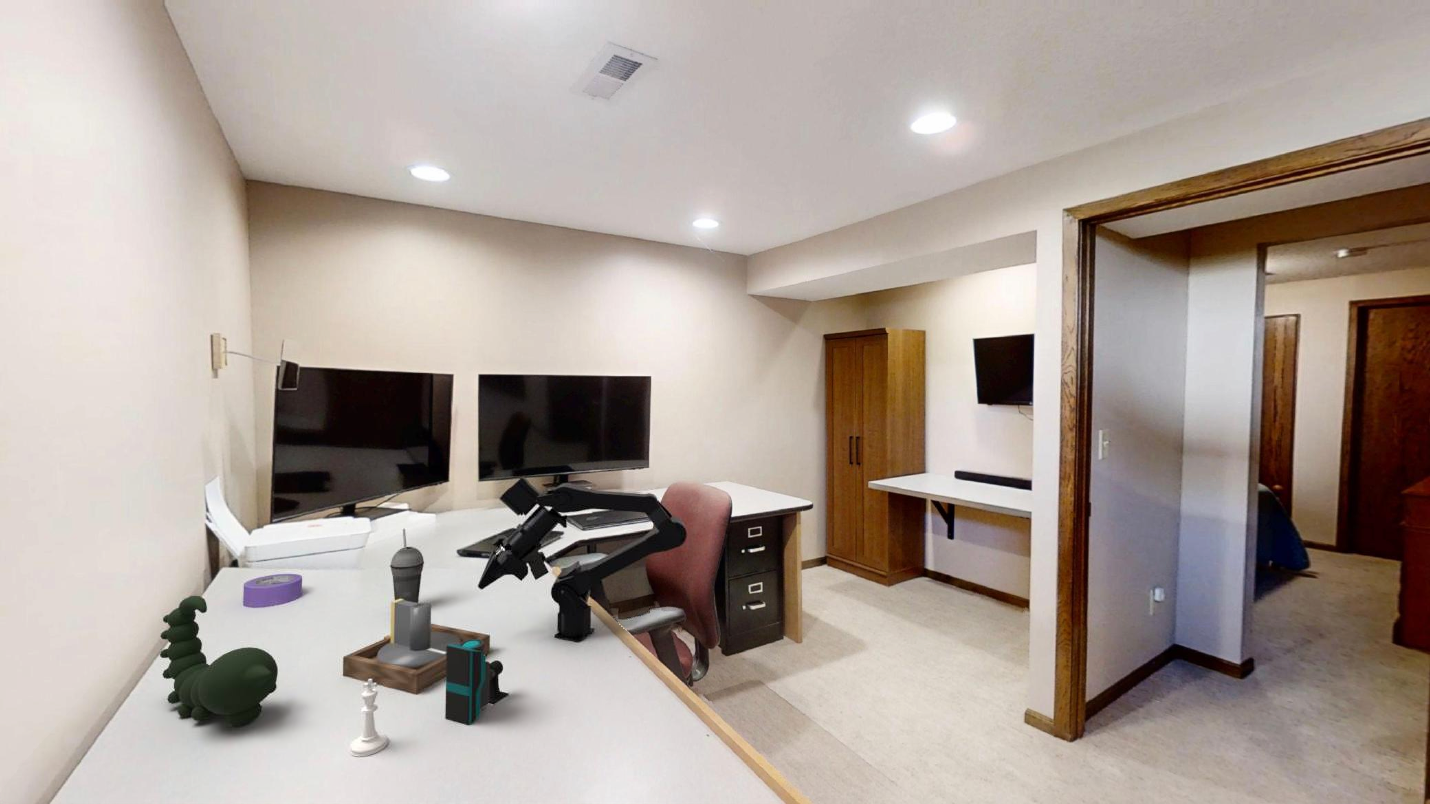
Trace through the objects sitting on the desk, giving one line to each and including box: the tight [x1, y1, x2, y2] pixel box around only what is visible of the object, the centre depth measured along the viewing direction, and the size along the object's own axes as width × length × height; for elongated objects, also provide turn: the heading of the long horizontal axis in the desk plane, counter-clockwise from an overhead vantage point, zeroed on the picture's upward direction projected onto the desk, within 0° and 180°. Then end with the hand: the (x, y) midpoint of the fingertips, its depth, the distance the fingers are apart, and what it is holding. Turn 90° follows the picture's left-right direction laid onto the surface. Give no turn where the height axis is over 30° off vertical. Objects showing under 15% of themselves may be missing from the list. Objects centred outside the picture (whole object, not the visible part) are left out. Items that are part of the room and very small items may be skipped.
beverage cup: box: [389, 528, 425, 603], centre depth 137 cm, size 7×7×20 cm
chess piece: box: [348, 679, 389, 758], centre depth 84 cm, size 5×5×10 cm
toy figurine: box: [159, 595, 279, 728], centre depth 92 cm, size 10×19×26 cm
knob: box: [377, 599, 460, 670], centre depth 111 cm, size 14×14×10 cm
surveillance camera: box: [444, 639, 509, 726], centre depth 96 cm, size 6×12×10 cm
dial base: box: [342, 623, 491, 695], centre depth 111 cm, size 18×18×4 cm
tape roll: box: [242, 573, 303, 608], centre depth 144 cm, size 12×12×5 cm
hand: (479, 587), depth 119 cm, fingers closed
